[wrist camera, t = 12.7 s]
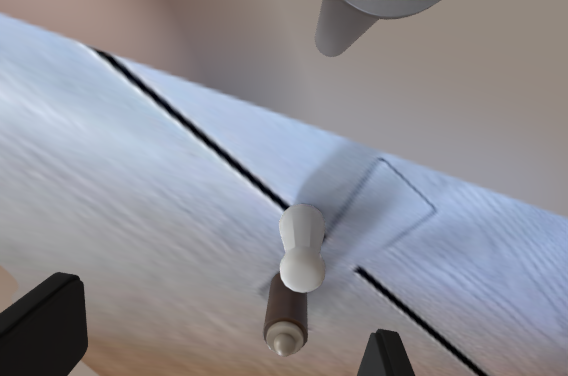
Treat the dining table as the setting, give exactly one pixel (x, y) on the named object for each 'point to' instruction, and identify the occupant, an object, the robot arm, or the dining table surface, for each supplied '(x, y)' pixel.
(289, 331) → the pepper mill
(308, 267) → the salt shaker
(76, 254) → the dining table surface
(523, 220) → the dining table surface
